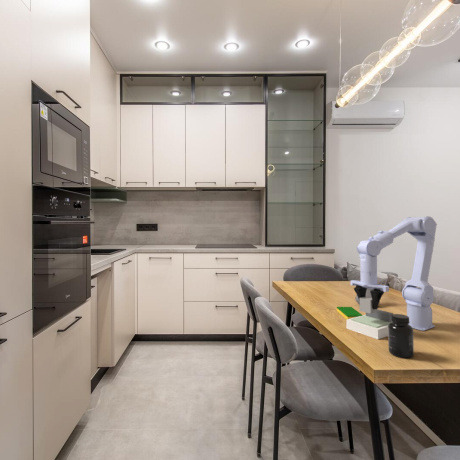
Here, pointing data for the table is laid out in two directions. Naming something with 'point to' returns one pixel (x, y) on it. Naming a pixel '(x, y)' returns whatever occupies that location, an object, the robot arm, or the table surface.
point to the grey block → (367, 305)
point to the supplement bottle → (400, 336)
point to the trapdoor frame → (367, 329)
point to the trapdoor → (375, 319)
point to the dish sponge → (348, 312)
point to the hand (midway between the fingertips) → (368, 307)
